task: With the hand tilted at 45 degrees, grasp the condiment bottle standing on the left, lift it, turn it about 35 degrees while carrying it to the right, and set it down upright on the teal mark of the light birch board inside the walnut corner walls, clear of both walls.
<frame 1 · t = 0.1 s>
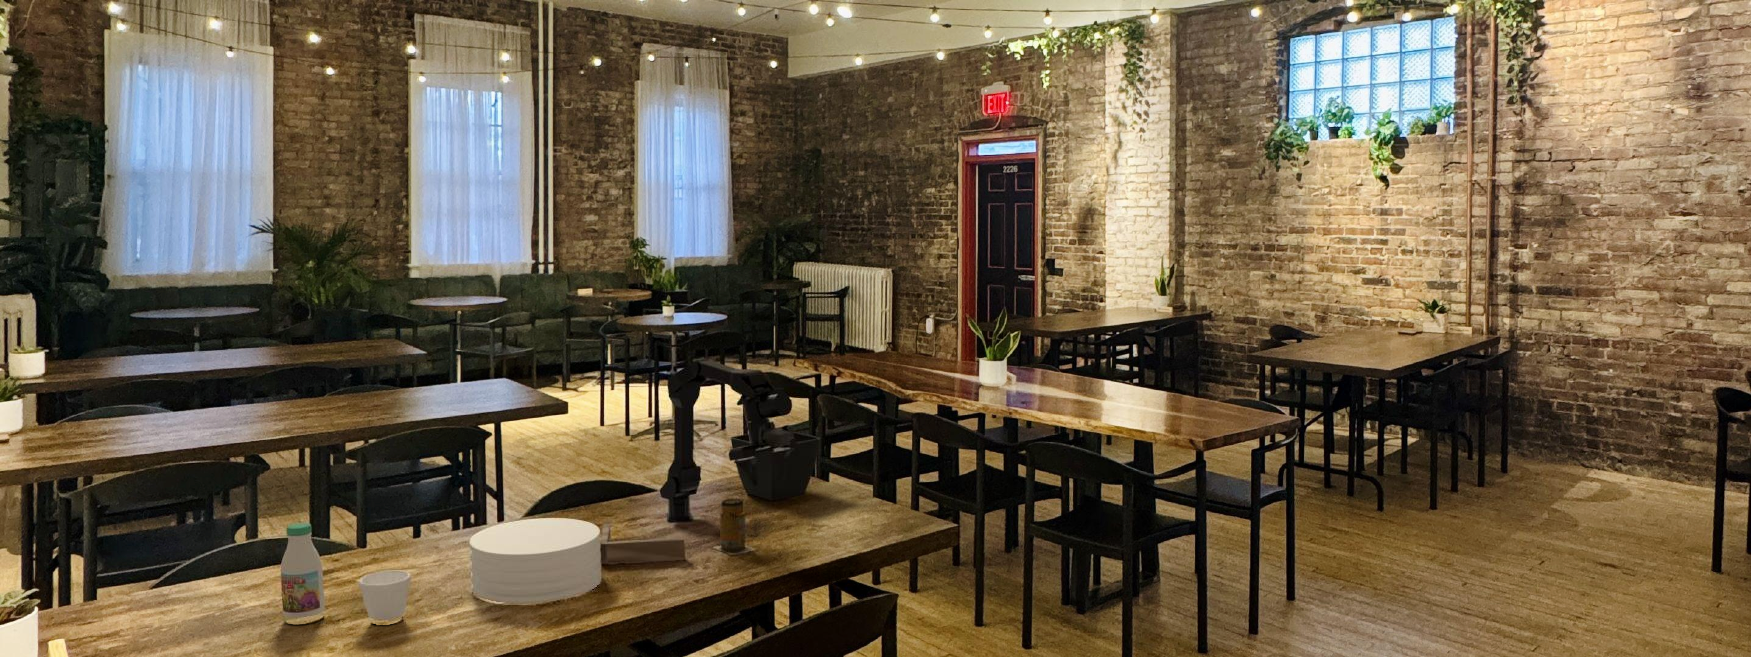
hand: (769, 482, 294), 15 cm above the table, tool pointing down, fingers open, 9 cm apart
plate stack: (537, 585, 265), on the table
flower pot: (776, 494, 343), on the table
corner arena: (643, 551, 288), on the table
milk bottle: (304, 620, 243), on the table
cup: (387, 622, 242), on the table
condiment: (734, 550, 290), on the table
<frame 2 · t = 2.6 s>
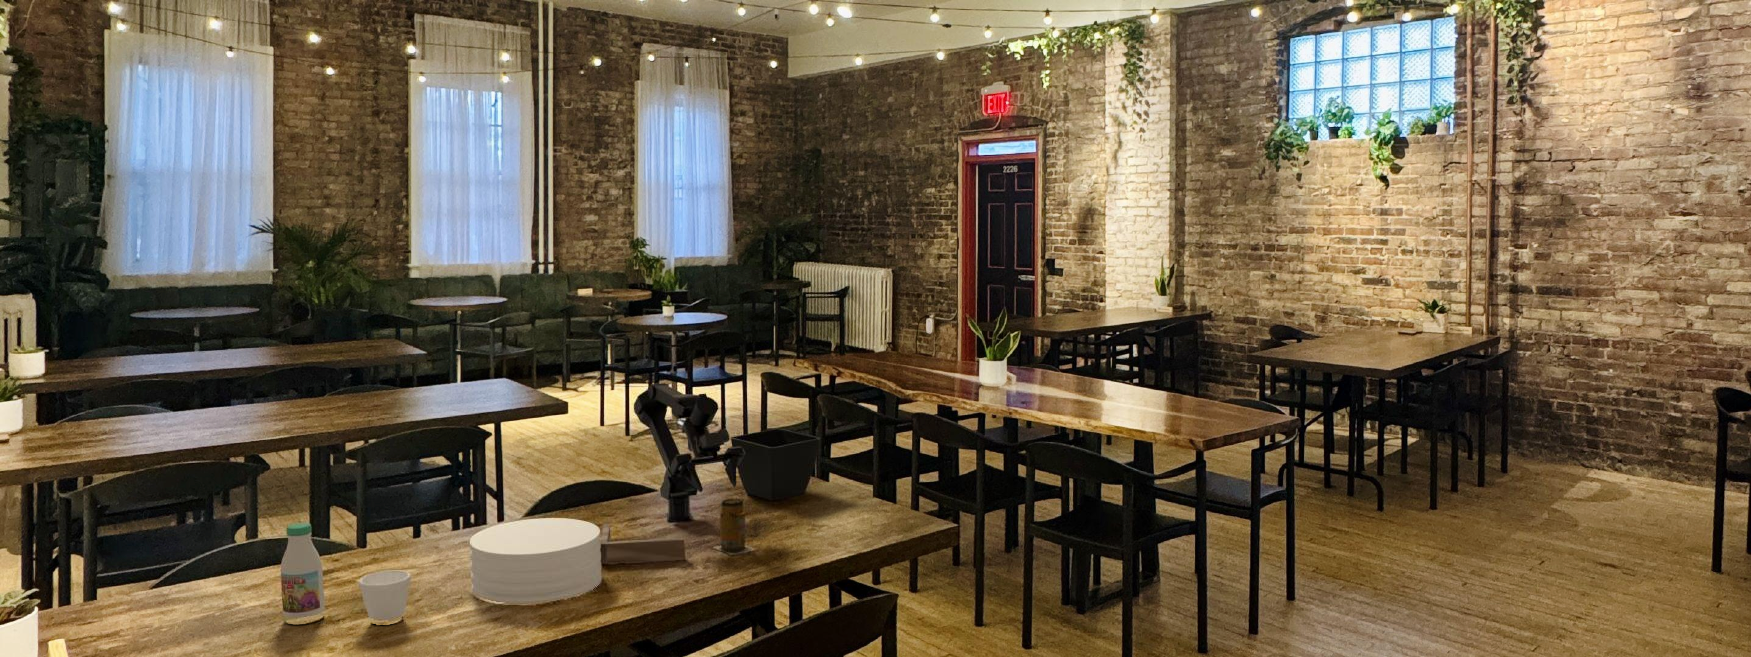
hand: (718, 488, 295), 13 cm above the table, tool tilted 45°, fingers open, 9 cm apart
nothing on the table moved.
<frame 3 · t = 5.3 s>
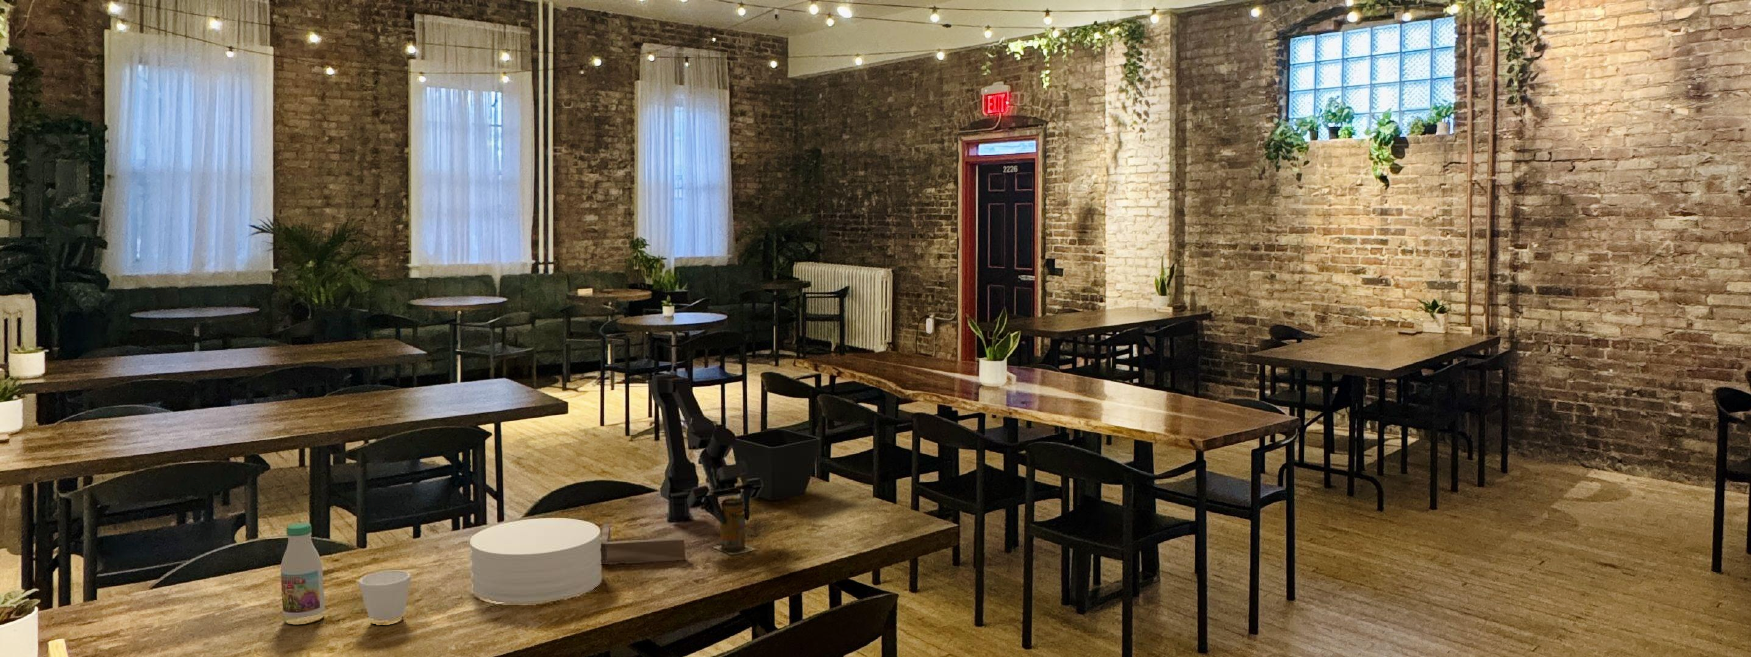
hand: (736, 522, 288), 7 cm above the table, tool tilted 45°, fingers closed on condiment, 6 cm apart
condiment: (734, 549, 290), on the table, touching gripper
everything else where it was.
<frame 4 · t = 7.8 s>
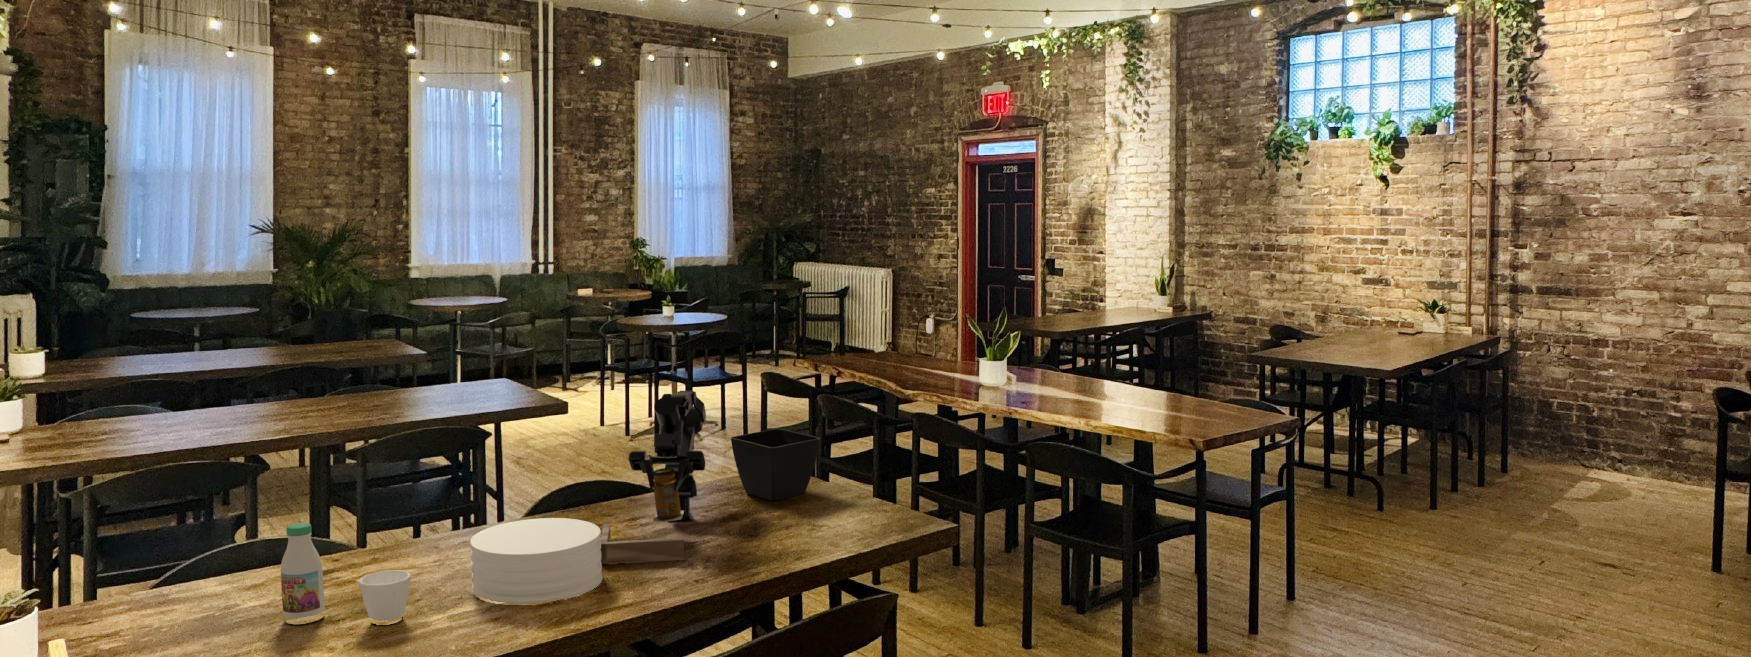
hand: (663, 489, 295), 13 cm above the table, tool tilted 45°, fingers closed on condiment, 6 cm apart
condiment: (668, 518, 298), point 6 cm above the table, touching gripper
everything else where it was.
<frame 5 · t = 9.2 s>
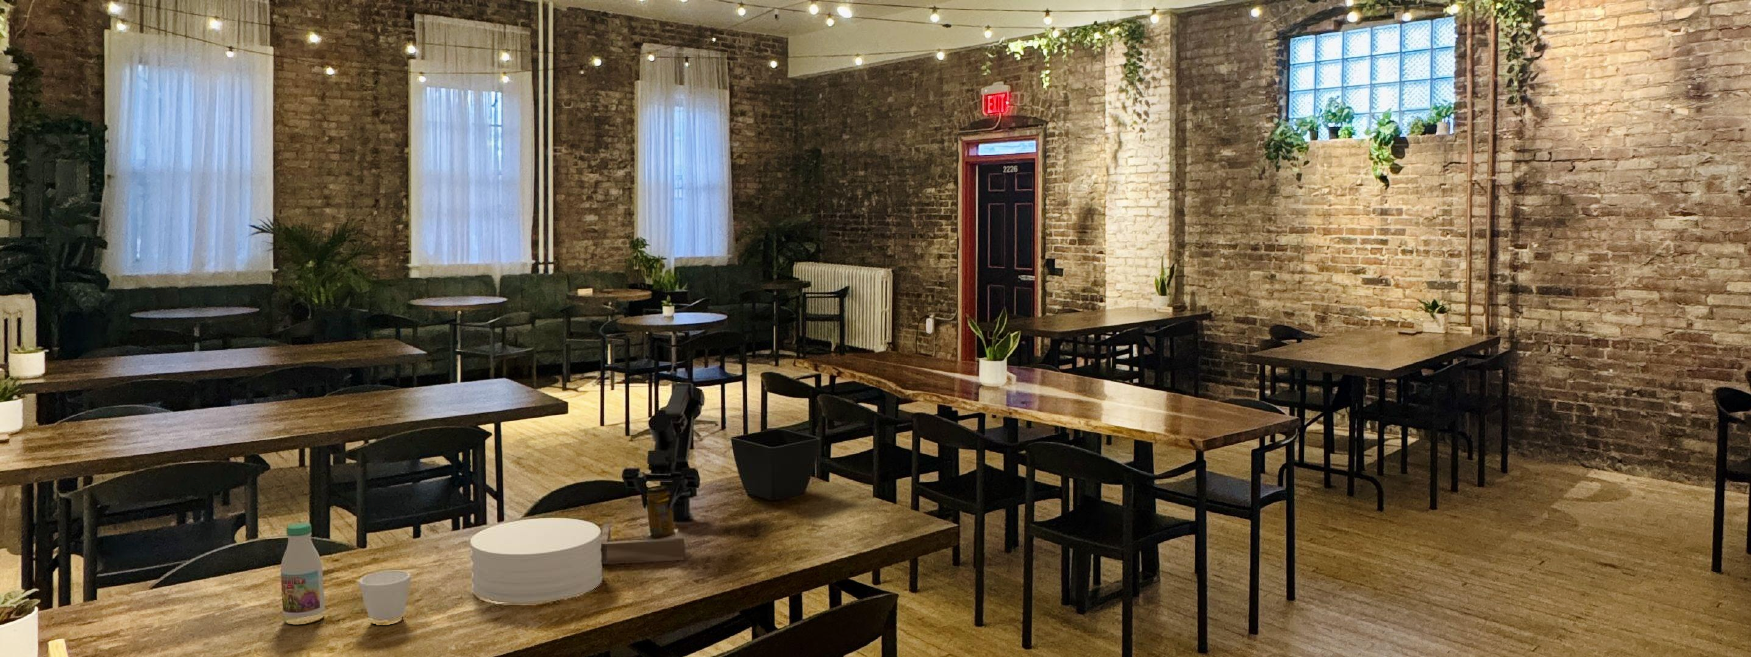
hand: (656, 507, 290), 10 cm above the table, tool tilted 45°, fingers closed on condiment, 6 cm apart
condiment: (661, 536, 292), point 3 cm above the table, touching gripper
everything else where it was.
when the fingers open (8 cm above the table, at t = 10.4 s): condiment stays where it is, resting on corner arena.
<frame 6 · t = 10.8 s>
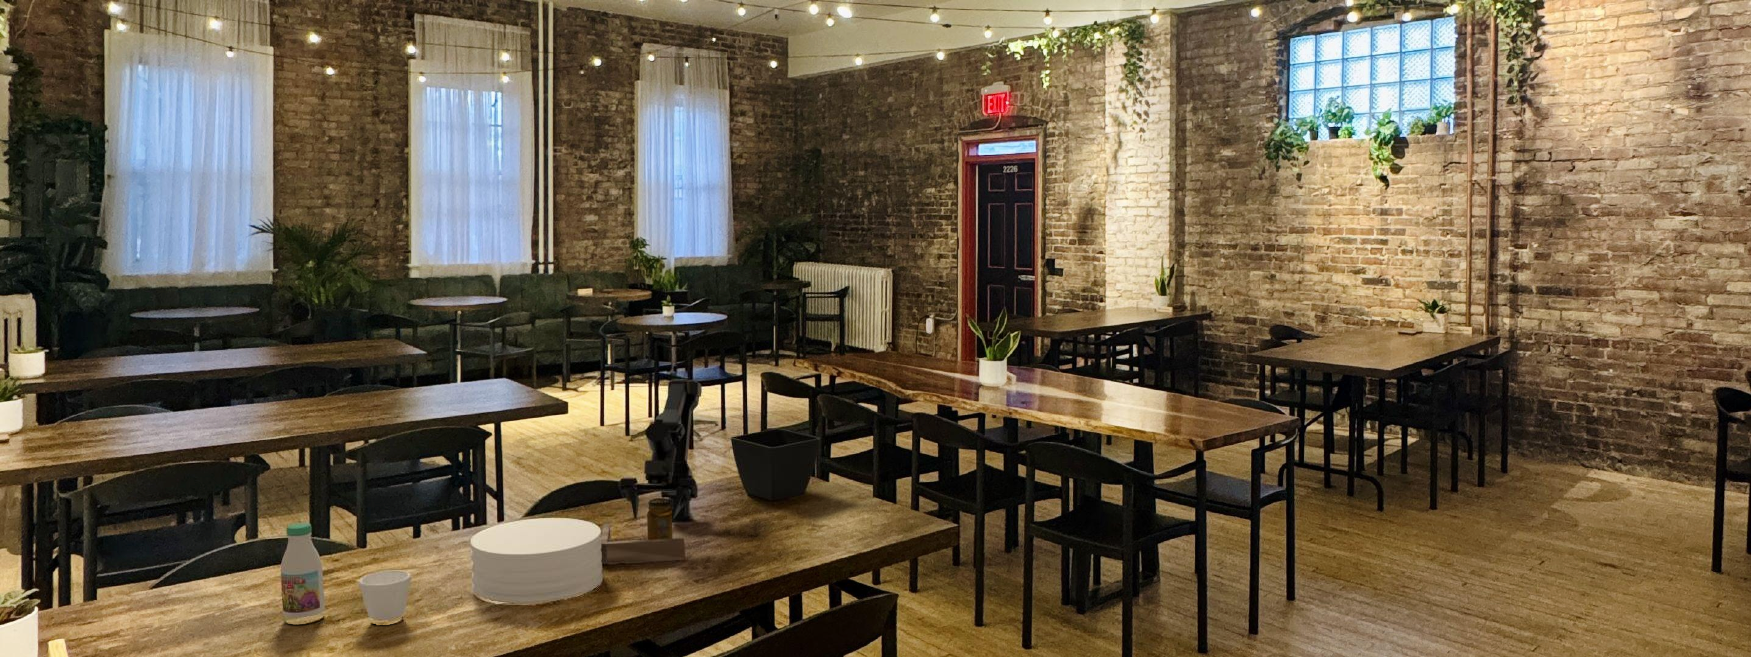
hand: (653, 518, 287), 9 cm above the table, tool tilted 45°, fingers open, 9 cm apart
condiment: (659, 550, 289), resting on corner arena
everything else where it was.
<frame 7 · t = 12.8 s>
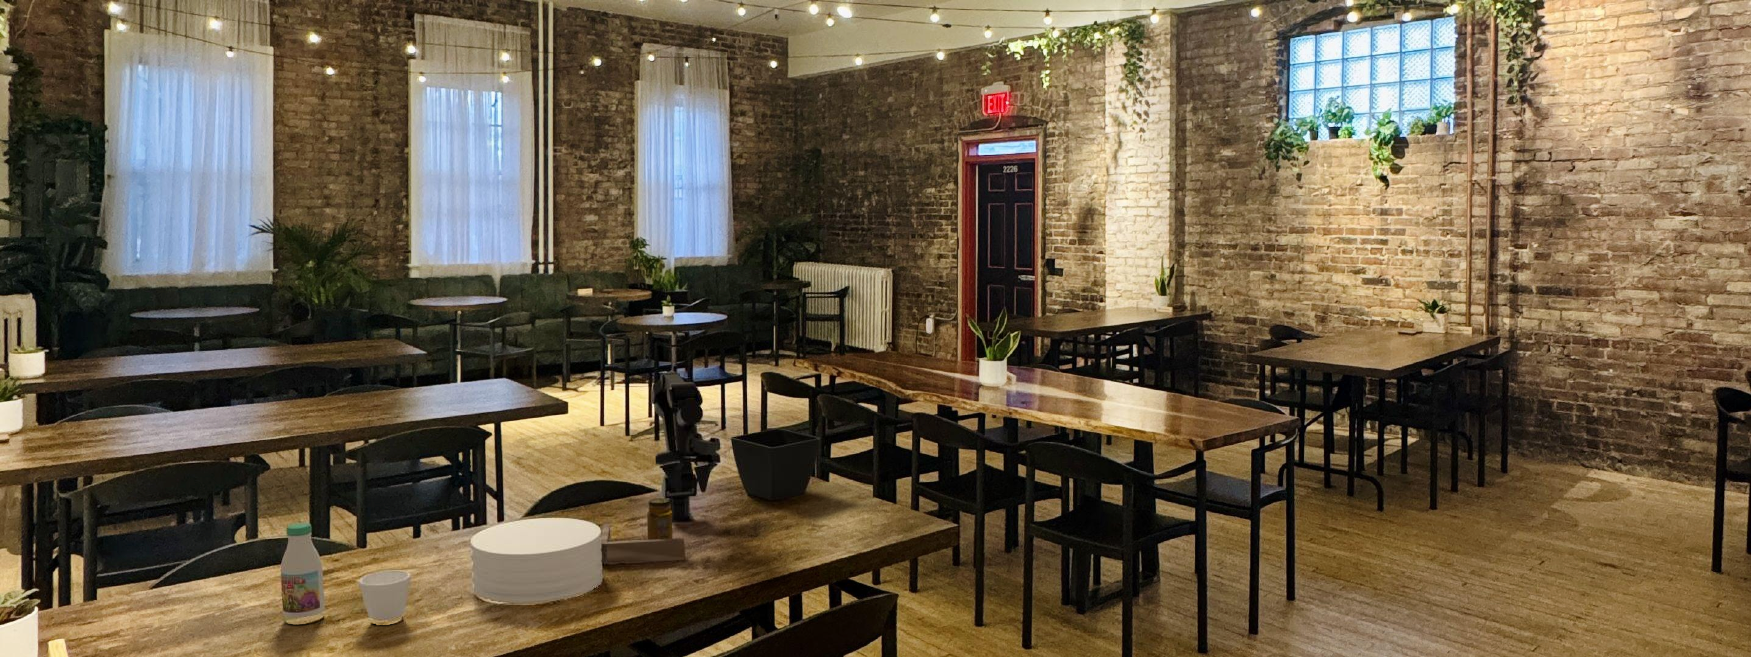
hand: (691, 492, 299), 12 cm above the table, tool tilted 20°, fingers open, 9 cm apart
nothing on the table moved.
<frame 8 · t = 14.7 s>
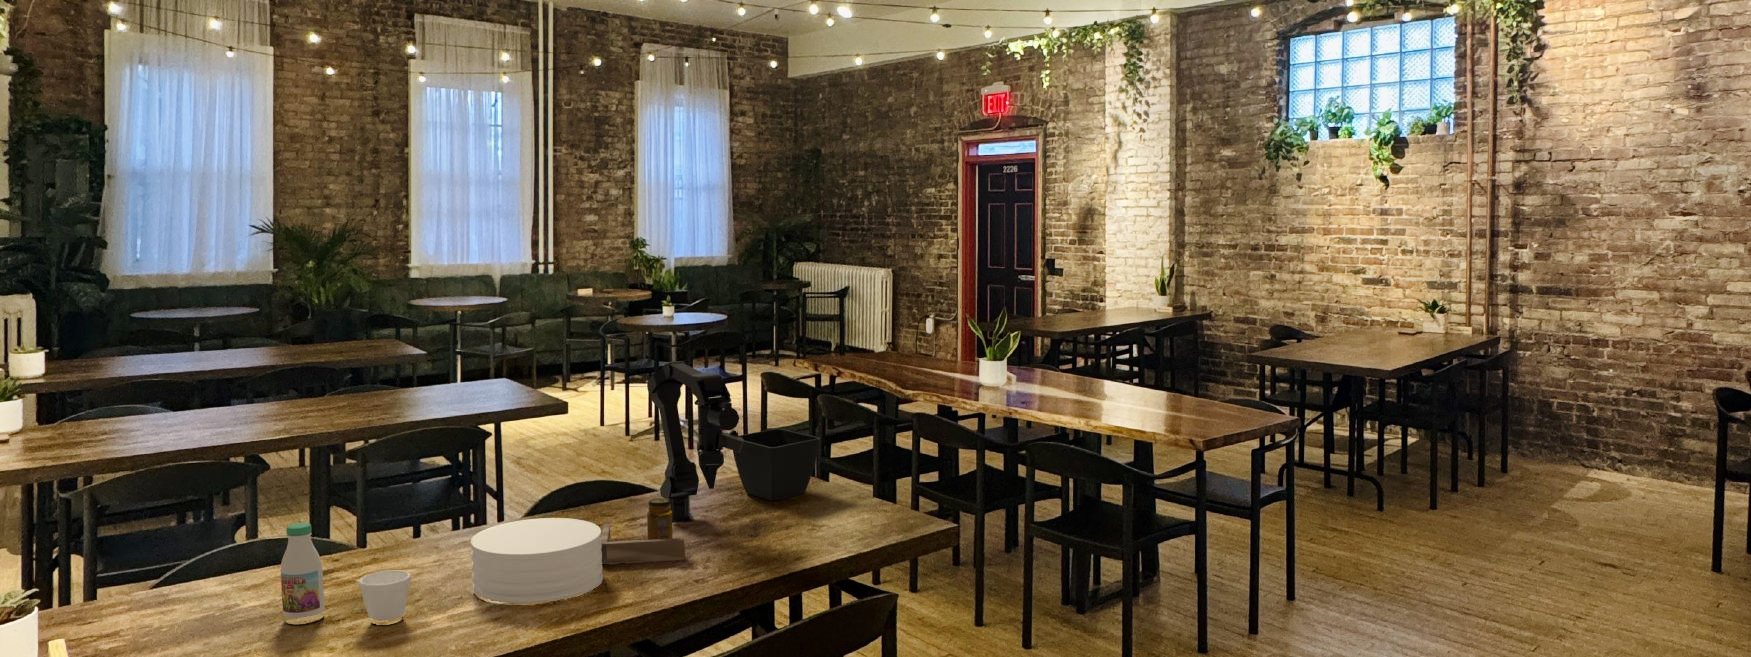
hand: (710, 484, 302), 13 cm above the table, tool pointing down, fingers open, 9 cm apart
nothing on the table moved.
at the end: condiment inside the target area on the corner arena (2.4 cm from its centre), point 0.2 cm above the corner arena's base; condiment tilted 0°; the gripper is holding nothing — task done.
